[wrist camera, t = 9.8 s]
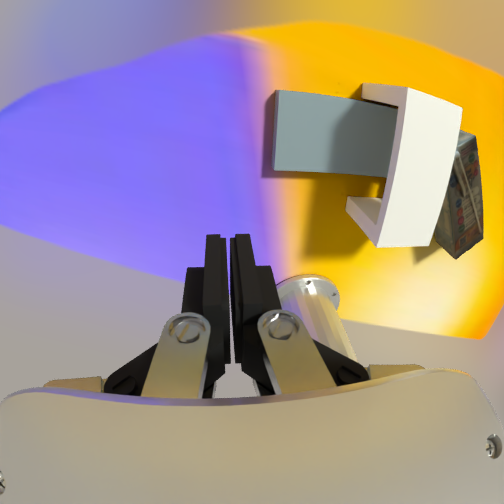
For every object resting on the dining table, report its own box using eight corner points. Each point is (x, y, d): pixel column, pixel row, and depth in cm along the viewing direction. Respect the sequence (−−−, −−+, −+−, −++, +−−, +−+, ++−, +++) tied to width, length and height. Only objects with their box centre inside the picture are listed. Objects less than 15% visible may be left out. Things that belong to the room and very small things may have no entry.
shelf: (393, 211, 37) (428, 245, 29) (345, 210, 36) (376, 247, 28) (414, 96, 27) (462, 108, 20) (362, 82, 27) (407, 87, 19)
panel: (386, 172, 34) (395, 178, 32) (270, 164, 32) (274, 170, 30) (396, 109, 29) (406, 111, 27) (275, 89, 27) (279, 90, 25)
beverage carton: (450, 123, 30) (481, 134, 24) (464, 222, 40) (486, 241, 34) (413, 141, 31) (444, 155, 26) (433, 242, 41) (455, 264, 36)
